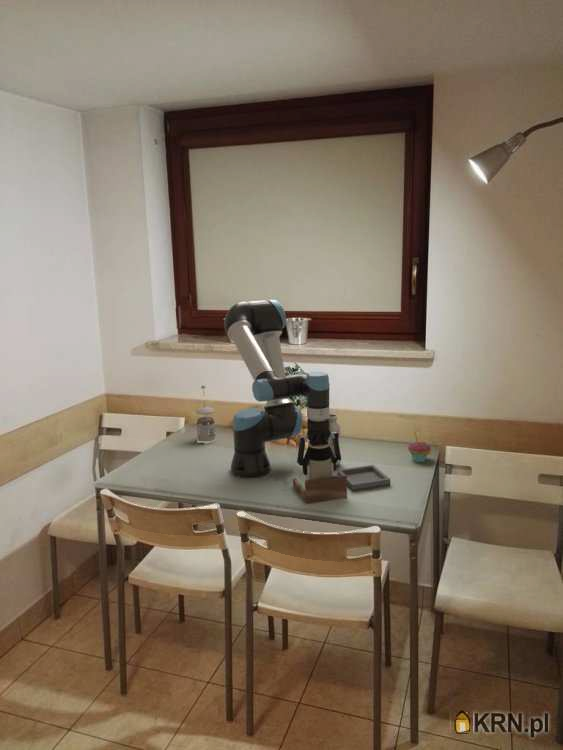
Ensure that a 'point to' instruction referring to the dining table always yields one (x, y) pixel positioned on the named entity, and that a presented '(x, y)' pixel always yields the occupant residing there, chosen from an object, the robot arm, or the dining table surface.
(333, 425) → the metal bottle
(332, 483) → the walnut dock
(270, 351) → the robot arm
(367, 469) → the charcoal tray
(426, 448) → the cupcake
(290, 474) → the dining table surface
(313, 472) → the travel mug
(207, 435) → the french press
